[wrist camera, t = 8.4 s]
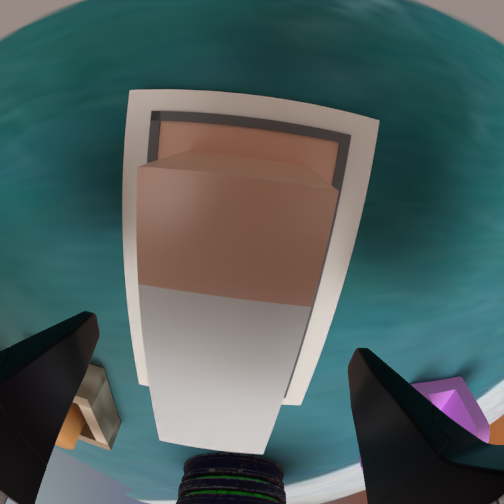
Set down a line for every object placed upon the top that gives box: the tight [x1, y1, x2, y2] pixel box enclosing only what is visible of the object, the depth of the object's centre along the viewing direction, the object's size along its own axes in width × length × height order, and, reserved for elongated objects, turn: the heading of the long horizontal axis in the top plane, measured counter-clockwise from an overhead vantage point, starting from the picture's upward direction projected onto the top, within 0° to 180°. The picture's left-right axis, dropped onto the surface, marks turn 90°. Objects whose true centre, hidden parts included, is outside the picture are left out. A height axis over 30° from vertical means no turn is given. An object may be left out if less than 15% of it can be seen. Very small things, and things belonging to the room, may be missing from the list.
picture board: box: [122, 89, 380, 405], centre depth 13 cm, size 16×10×1 cm, turn 173°
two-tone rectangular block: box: [136, 151, 339, 454], centre depth 11 cm, size 11×4×5 cm, turn 173°
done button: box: [55, 402, 86, 449], centre depth 15 cm, size 4×4×3 cm
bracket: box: [359, 376, 490, 471], centre depth 17 cm, size 13×6×7 cm, turn 175°
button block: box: [73, 364, 121, 450], centre depth 17 cm, size 7×7×3 cm
